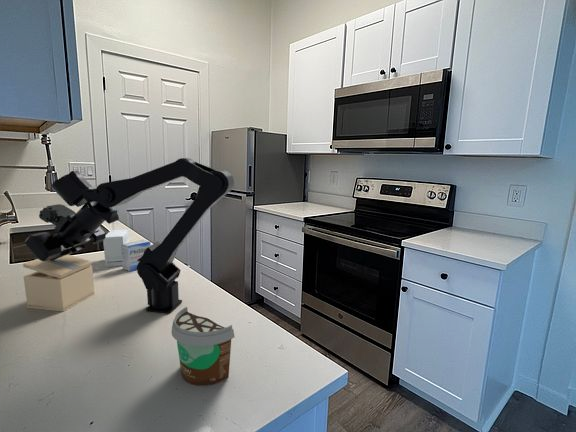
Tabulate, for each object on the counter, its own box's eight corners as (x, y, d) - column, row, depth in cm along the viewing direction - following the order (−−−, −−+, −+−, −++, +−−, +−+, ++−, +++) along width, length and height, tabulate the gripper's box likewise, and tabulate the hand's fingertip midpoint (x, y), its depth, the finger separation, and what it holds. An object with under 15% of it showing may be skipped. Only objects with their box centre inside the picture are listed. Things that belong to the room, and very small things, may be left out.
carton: (94, 294, 87) (92, 266, 86) (63, 311, 77) (60, 279, 76) (62, 291, 89) (58, 263, 87) (27, 307, 79) (23, 276, 77)
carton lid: (91, 264, 86) (92, 261, 85) (60, 278, 76) (60, 274, 76) (58, 254, 87) (59, 251, 86) (23, 266, 77) (23, 263, 77)
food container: (158, 372, 56) (155, 319, 55) (187, 354, 61) (185, 305, 60) (207, 402, 50) (205, 343, 48) (235, 380, 55) (234, 325, 53)
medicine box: (129, 272, 104) (127, 246, 103) (122, 269, 107) (120, 243, 105) (152, 265, 111) (150, 241, 109) (145, 263, 113) (143, 239, 112)
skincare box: (112, 257, 118) (110, 229, 116) (131, 256, 120) (129, 229, 118) (104, 267, 108) (101, 236, 107) (125, 265, 110) (123, 235, 108)
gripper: (94, 191, 87) (60, 227, 90) (28, 199, 68) (-11, 244, 72) (121, 222, 87) (86, 257, 90) (63, 239, 69) (23, 281, 72)
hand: (50, 259), depth 81 cm, fingers closed, pressing on carton lid
